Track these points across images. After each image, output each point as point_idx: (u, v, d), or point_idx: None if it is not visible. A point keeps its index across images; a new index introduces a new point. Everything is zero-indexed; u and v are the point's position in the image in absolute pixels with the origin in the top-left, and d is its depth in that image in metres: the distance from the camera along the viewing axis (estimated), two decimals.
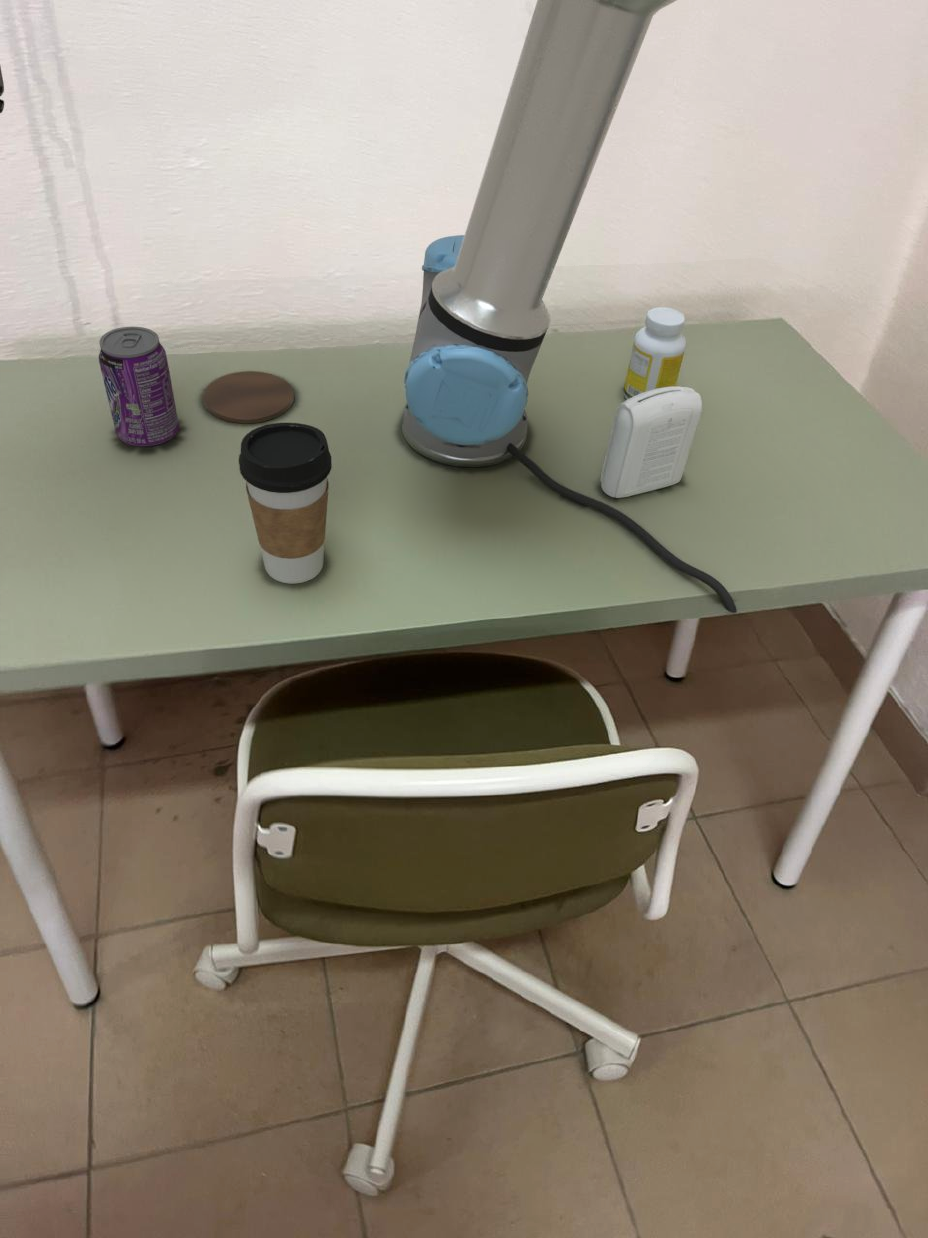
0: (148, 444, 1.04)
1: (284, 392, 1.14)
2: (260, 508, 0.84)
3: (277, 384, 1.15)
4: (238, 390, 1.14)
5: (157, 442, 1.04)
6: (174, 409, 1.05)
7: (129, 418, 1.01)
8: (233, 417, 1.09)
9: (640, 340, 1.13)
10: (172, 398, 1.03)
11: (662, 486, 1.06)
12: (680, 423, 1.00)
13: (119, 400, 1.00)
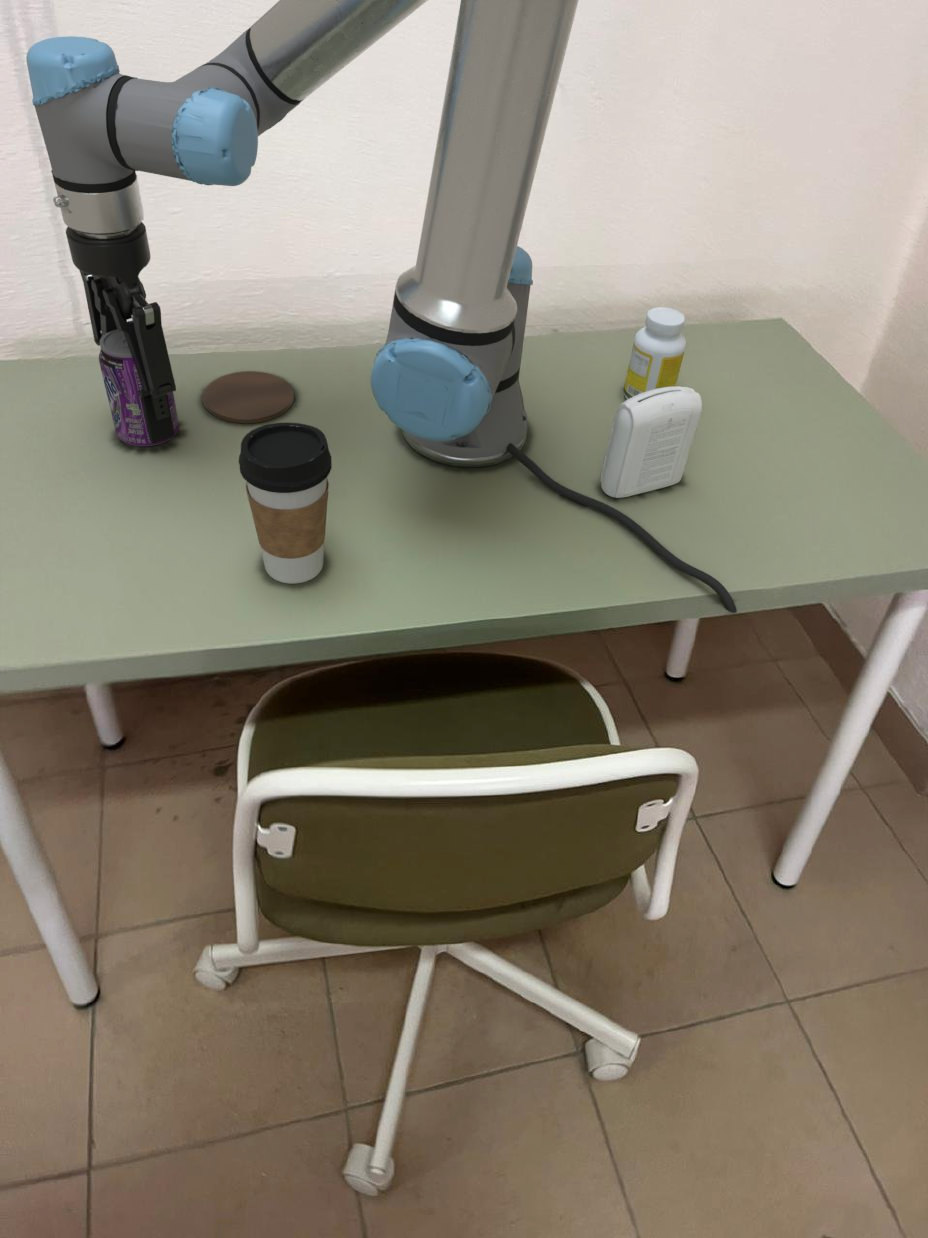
0: (148, 444, 1.04)
1: (284, 392, 1.14)
2: (260, 508, 0.84)
3: (277, 384, 1.15)
4: (238, 390, 1.14)
5: (157, 442, 1.04)
6: (174, 409, 1.05)
7: (129, 418, 1.01)
8: (233, 417, 1.09)
9: (640, 340, 1.13)
10: (172, 398, 1.03)
11: (662, 486, 1.06)
12: (680, 423, 1.00)
13: (119, 400, 1.00)
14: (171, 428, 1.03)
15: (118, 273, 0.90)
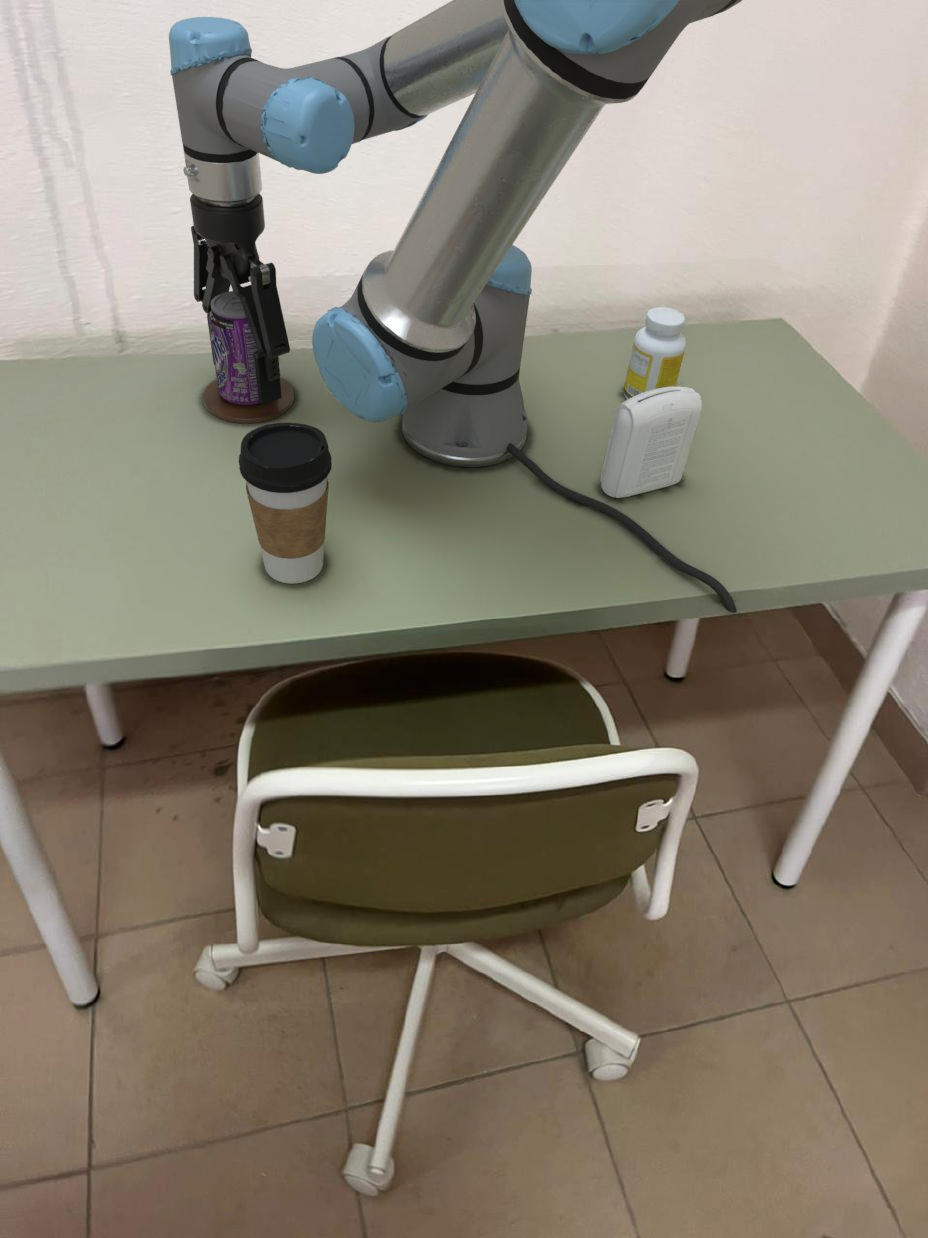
0: (250, 402, 1.10)
1: (284, 392, 1.14)
2: (260, 508, 0.84)
3: None
4: None
5: (258, 401, 1.10)
6: None
7: (234, 377, 1.08)
8: (233, 417, 1.09)
9: (640, 340, 1.13)
10: None
11: (662, 486, 1.06)
12: (680, 423, 1.00)
13: (226, 360, 1.06)
14: (279, 390, 1.09)
15: (238, 239, 0.96)
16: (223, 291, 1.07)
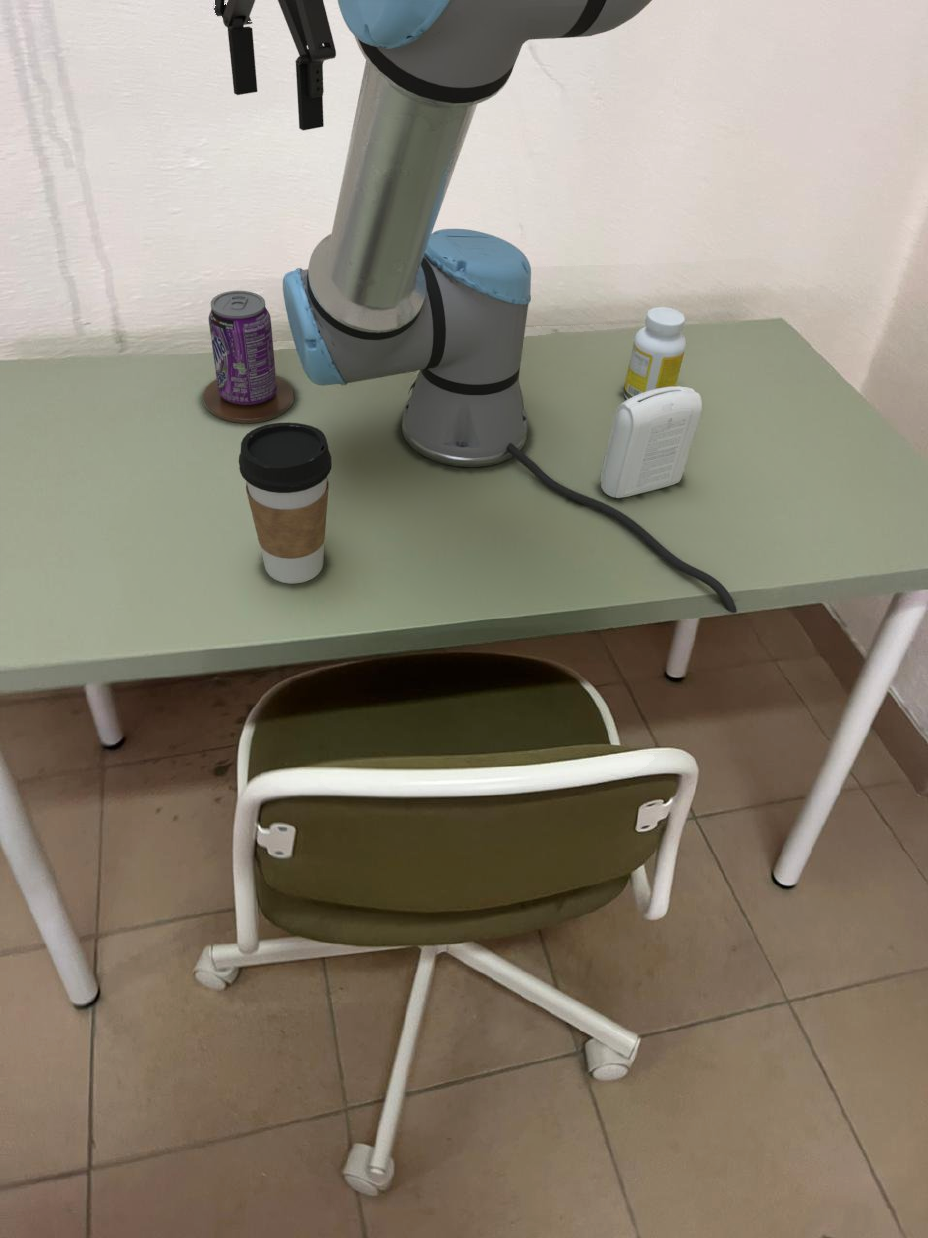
0: (250, 402, 1.10)
1: (284, 392, 1.14)
2: (260, 508, 0.84)
3: (277, 384, 1.15)
4: None
5: (258, 401, 1.10)
6: (274, 370, 1.11)
7: (234, 377, 1.08)
8: (233, 417, 1.09)
9: (640, 340, 1.13)
10: (273, 359, 1.10)
11: (662, 486, 1.06)
12: (680, 423, 1.00)
13: (226, 360, 1.06)
14: (321, 115, 1.00)
15: None
16: (248, 2, 1.00)
